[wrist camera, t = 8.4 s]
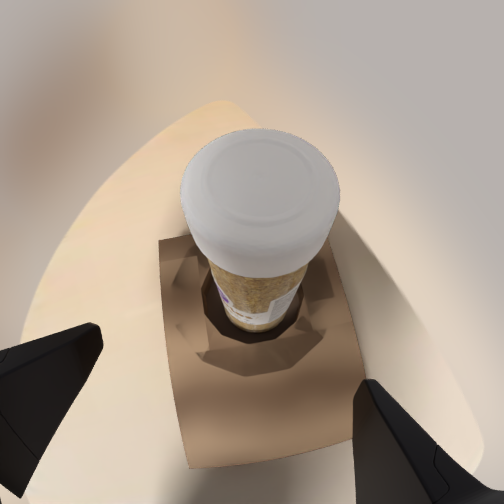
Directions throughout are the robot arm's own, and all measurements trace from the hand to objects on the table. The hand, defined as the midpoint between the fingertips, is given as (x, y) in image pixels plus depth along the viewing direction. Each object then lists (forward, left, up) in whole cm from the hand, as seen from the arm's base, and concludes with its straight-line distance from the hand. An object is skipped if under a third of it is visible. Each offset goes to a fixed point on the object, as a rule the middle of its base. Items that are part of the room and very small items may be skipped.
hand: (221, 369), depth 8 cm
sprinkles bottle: (+5, -2, -11) cm, 12 cm away
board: (+2, -2, -11) cm, 11 cm away
